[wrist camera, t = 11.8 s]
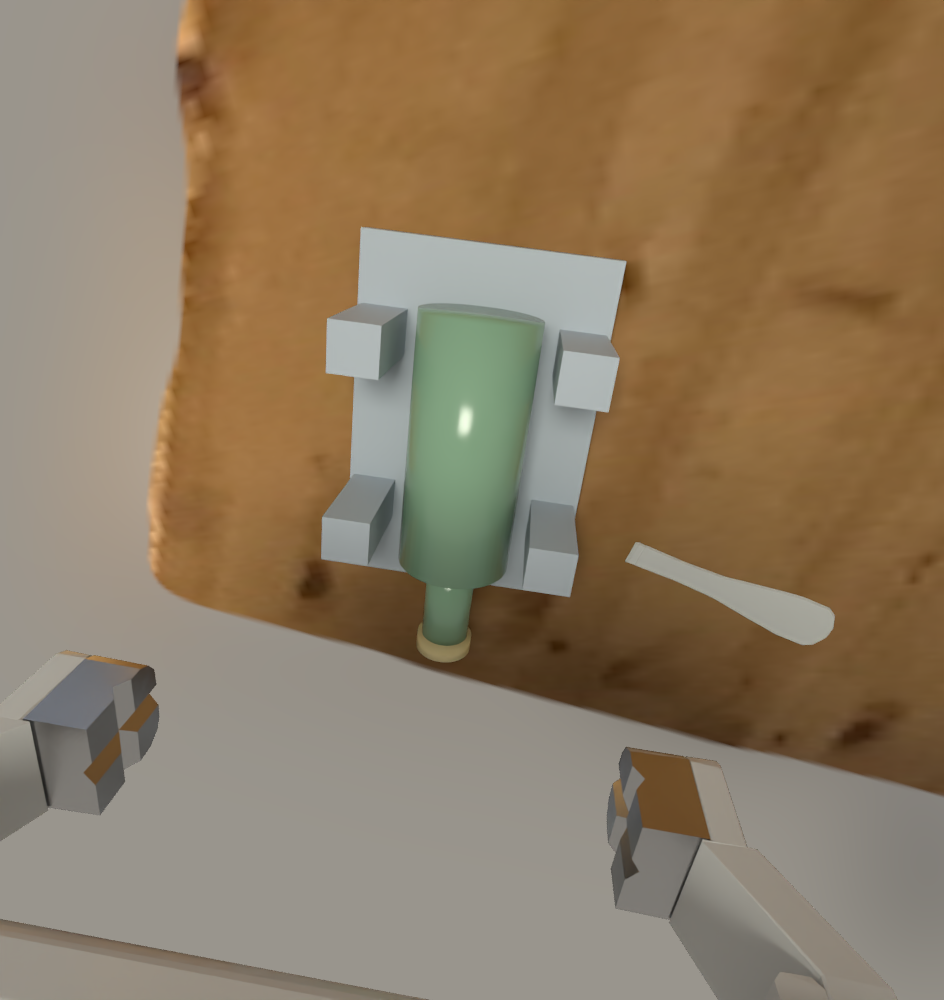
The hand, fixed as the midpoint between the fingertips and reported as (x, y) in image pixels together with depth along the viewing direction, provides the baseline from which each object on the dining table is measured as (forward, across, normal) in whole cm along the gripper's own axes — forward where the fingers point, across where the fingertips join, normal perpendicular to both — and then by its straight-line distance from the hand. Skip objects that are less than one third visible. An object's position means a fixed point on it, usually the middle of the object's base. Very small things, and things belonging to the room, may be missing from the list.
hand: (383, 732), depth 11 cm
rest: (+21, 0, +1) cm, 21 cm away
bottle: (+20, 0, +3) cm, 20 cm away
